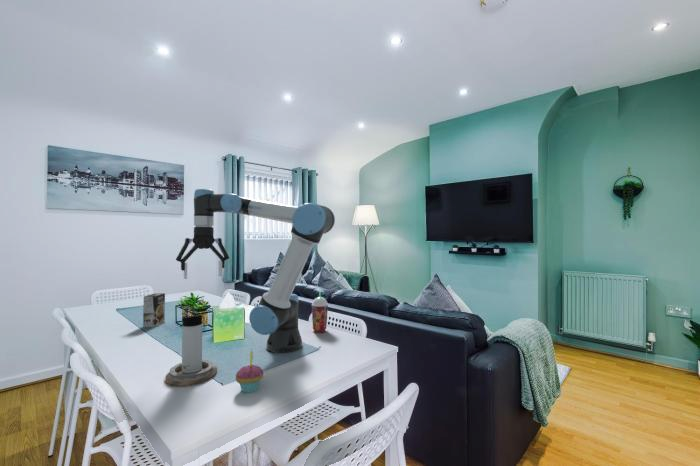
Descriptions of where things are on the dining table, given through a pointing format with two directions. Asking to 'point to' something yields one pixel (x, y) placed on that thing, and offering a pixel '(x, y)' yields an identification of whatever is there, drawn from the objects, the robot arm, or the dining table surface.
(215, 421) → the dining table surface
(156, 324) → the coffee box
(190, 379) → the plate
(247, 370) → the cupcake
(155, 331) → the dining table surface
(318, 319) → the smoothie
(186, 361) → the travel mug
